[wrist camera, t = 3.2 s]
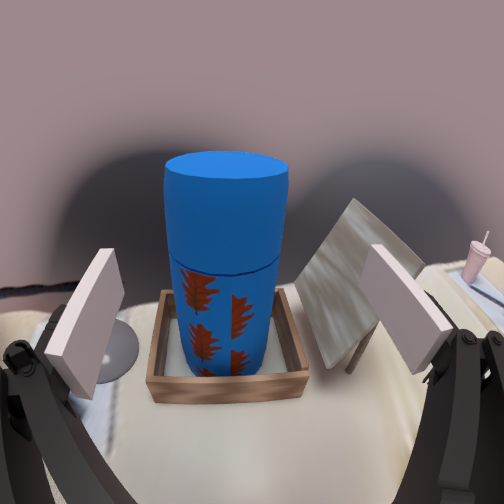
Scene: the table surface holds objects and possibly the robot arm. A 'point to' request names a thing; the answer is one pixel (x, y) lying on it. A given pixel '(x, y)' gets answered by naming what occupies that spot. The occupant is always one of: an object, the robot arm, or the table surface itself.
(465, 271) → the smoothie
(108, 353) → the disc
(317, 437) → the table surface
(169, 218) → the thermos
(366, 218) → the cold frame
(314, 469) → the table surface
